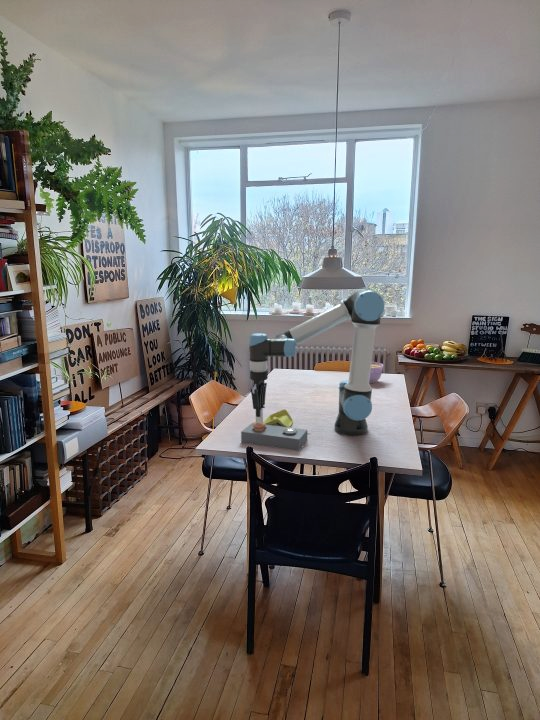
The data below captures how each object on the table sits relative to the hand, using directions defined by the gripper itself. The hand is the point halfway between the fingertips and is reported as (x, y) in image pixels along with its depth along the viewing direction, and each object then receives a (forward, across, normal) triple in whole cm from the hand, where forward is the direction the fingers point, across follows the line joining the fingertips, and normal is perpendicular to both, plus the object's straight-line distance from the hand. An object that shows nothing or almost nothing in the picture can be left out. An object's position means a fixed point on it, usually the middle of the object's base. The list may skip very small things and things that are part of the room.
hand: (259, 423), depth 201 cm
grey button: (+7, 0, +14) cm, 16 cm away
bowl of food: (+8, -119, +27) cm, 122 cm away
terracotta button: (+6, 0, 0) cm, 6 cm away
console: (+8, 0, +7) cm, 10 cm away
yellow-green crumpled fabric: (+8, -18, +1) cm, 20 cm away
